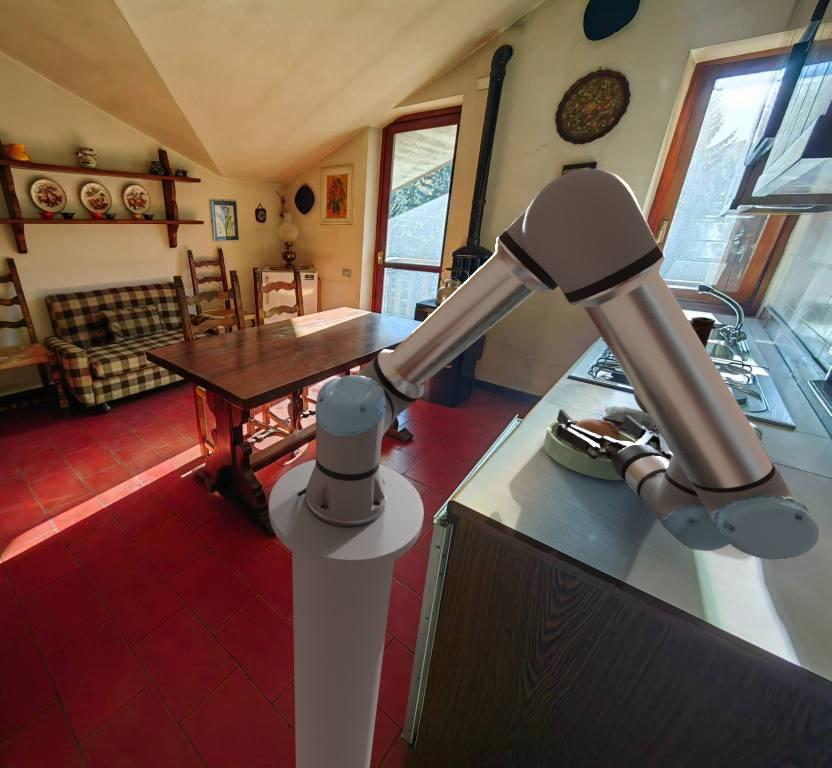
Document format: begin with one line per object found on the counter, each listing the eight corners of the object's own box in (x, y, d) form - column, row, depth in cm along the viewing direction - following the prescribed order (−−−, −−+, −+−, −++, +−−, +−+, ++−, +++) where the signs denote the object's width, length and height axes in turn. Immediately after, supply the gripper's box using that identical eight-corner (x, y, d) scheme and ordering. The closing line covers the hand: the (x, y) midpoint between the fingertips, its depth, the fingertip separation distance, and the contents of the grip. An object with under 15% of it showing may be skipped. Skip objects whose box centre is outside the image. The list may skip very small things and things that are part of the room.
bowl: (580, 485, 80) (587, 464, 78) (526, 439, 96) (531, 421, 94) (659, 479, 82) (668, 459, 80) (593, 436, 98) (599, 418, 96)
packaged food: (602, 414, 110) (607, 398, 108) (656, 427, 103) (662, 411, 101) (599, 426, 103) (604, 409, 101) (655, 441, 96) (662, 423, 95)
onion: (601, 466, 90) (636, 435, 86) (593, 473, 83) (630, 439, 79) (564, 438, 95) (595, 407, 91) (554, 441, 88) (587, 408, 84)
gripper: (565, 481, 72) (530, 426, 92) (719, 498, 68) (647, 437, 88) (576, 446, 69) (537, 397, 89) (737, 462, 65) (659, 408, 85)
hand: (592, 417), depth 88 cm, fingers open, 13 cm apart
